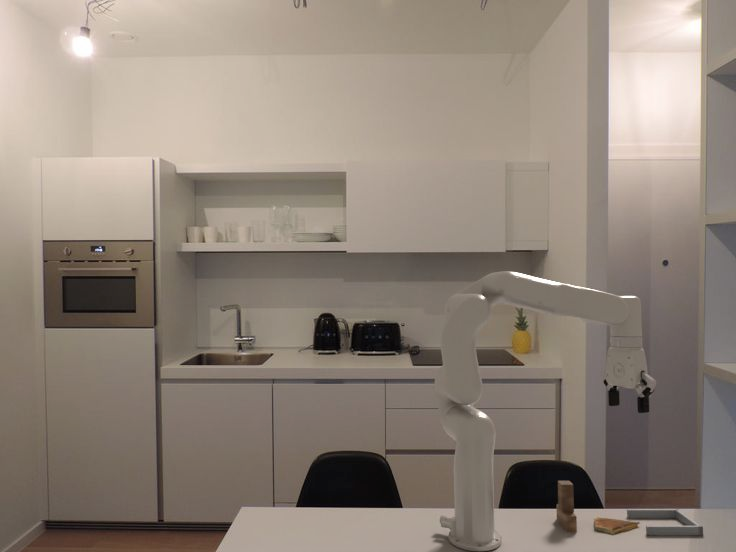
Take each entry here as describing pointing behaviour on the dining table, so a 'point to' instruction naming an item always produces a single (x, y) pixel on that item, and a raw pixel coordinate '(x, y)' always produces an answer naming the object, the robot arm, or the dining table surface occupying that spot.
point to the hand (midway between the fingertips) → (628, 408)
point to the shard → (613, 525)
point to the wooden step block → (566, 506)
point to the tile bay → (689, 529)
